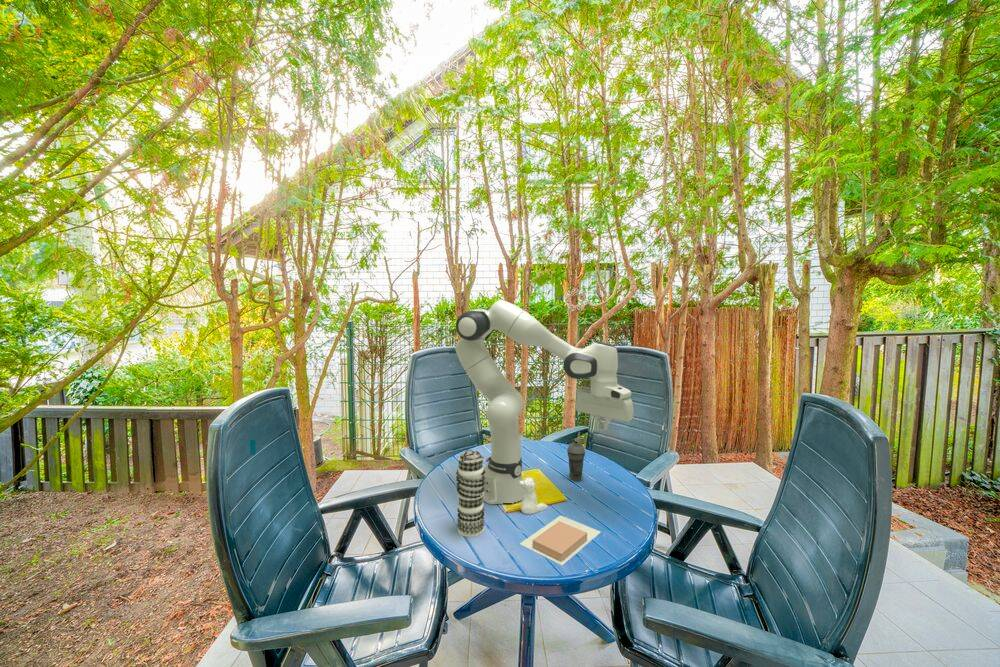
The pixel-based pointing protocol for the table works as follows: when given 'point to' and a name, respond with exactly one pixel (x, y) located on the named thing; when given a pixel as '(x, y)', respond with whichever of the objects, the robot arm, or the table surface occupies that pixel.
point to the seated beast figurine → (530, 498)
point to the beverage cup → (576, 459)
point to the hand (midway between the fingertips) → (602, 429)
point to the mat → (590, 531)
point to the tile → (559, 540)
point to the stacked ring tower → (470, 493)
